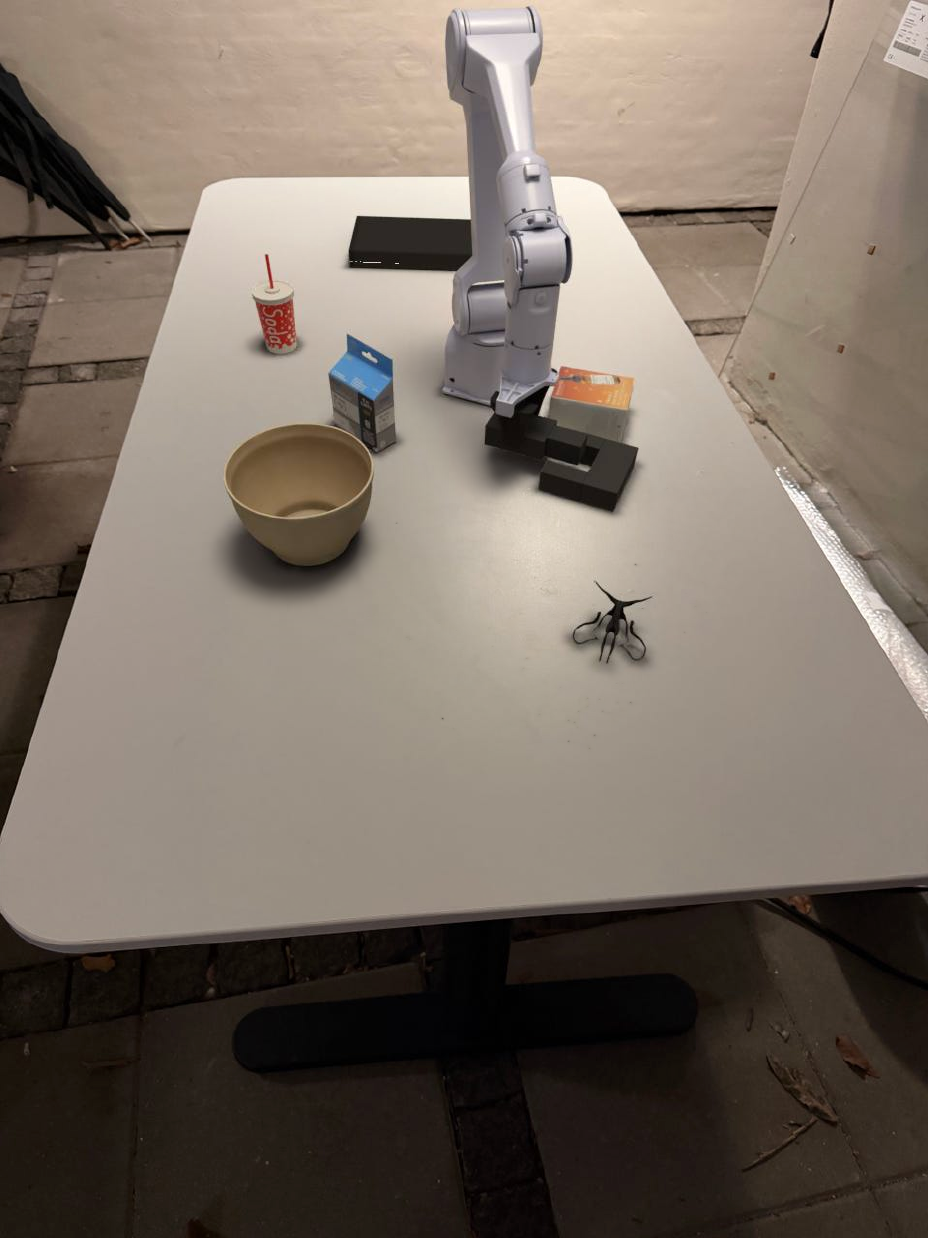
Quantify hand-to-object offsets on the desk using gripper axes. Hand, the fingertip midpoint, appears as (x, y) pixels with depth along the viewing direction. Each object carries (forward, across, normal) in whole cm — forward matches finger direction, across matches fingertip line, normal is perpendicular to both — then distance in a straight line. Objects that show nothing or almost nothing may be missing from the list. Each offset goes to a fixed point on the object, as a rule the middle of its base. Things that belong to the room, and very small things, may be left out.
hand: (520, 433), depth 100 cm
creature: (+4, -25, -20) cm, 32 cm away
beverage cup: (+4, +10, +43) cm, 44 cm away
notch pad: (+4, 0, -10) cm, 11 cm away
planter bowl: (+4, -25, +17) cm, 30 cm away
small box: (+1, +13, -11) cm, 17 cm away
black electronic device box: (+4, +48, +38) cm, 61 cm away
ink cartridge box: (+4, -4, +21) cm, 22 cm away
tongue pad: (+1, 0, -2) cm, 3 cm away
